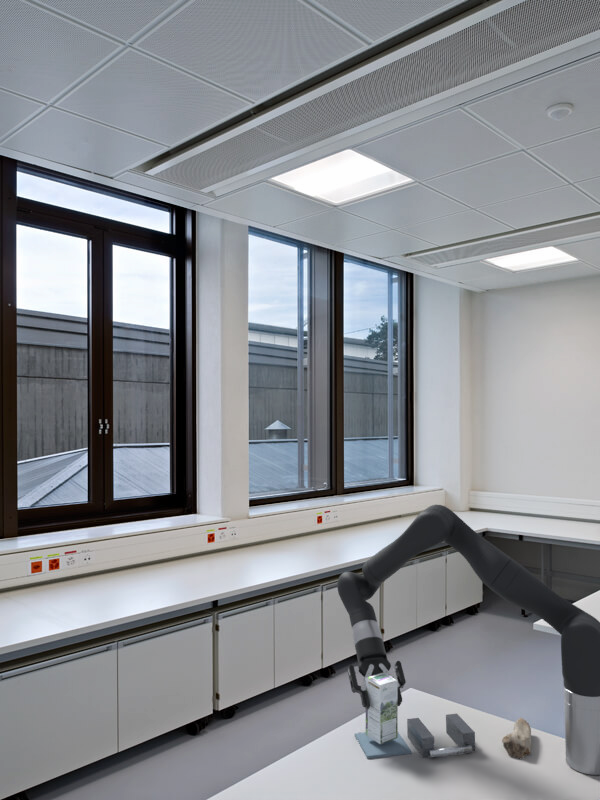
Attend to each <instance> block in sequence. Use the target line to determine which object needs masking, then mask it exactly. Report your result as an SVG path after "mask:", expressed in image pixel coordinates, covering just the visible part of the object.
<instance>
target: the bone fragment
mask: <svg viewBox="0 0 600 800" xmlns="http://www.w3.org/2000/svg"><path fill="white" fill-rule="evenodd" d="M531 738H532V728H531V726H530V723H529V722H528V721H527V720H525V719H524V718H523V717H520V718H518V719H516V721H515V722H514V724H513V732H512V733H509V734H506V735H505V736H503V737H502V738H501V742H502V744H503V745H502V746H503V748H504V749H505V751H506V753H507V754H508V756H509V757H513V758H517V759H520V758H521V759H523V758H524V757H526V756H527V755H528V756H529V755H531V751H532V743H531V741H532V739H531Z"/></svg>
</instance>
